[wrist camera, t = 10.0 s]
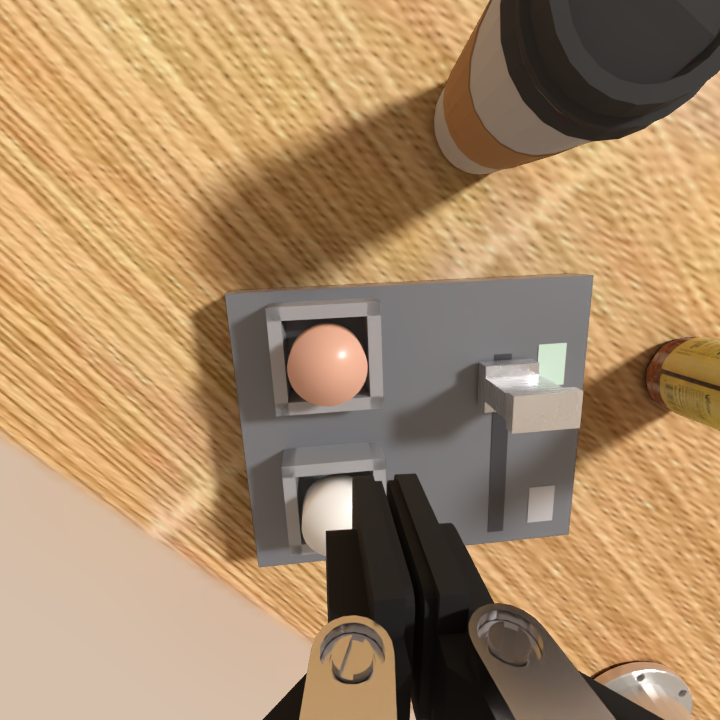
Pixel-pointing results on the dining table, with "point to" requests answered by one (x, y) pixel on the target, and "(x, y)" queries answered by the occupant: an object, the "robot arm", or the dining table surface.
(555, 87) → the coffee cup
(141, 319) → the dining table surface
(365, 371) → the terracotta button
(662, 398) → the sauce bottle
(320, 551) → the offwhite button
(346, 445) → the control panel
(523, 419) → the slider knob
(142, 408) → the dining table surface
